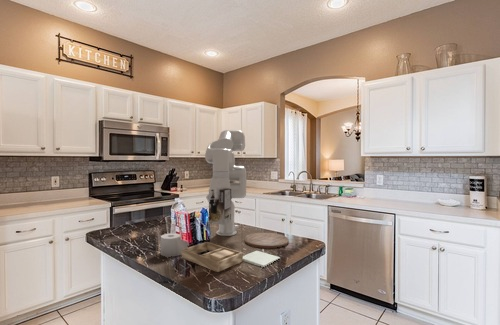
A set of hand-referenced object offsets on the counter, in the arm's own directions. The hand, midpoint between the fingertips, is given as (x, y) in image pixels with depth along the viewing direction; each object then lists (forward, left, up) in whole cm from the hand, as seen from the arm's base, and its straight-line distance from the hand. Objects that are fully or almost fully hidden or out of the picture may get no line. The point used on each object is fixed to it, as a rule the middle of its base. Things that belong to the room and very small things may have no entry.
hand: (220, 211), depth 128 cm
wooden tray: (+4, 0, -22) cm, 22 cm away
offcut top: (+4, +6, -20) cm, 21 cm away
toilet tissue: (+11, -21, -22) cm, 32 cm away
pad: (-11, +16, -22) cm, 29 cm away
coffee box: (0, 0, -5) cm, 5 cm away
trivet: (-36, +2, -22) cm, 42 cm away
